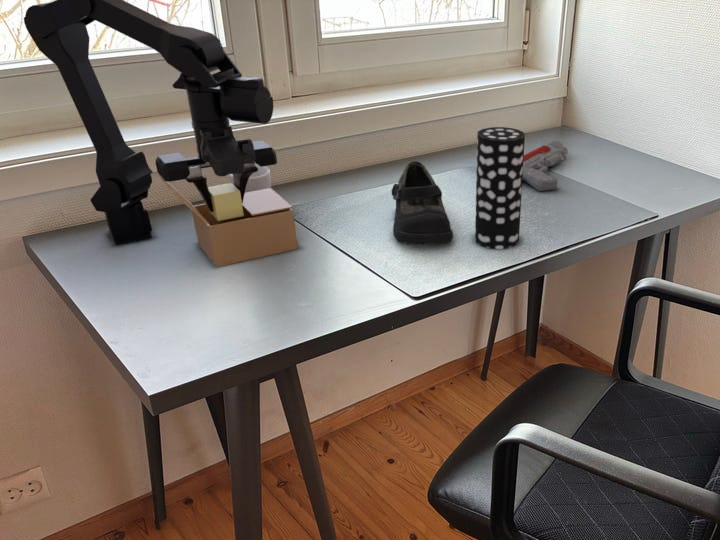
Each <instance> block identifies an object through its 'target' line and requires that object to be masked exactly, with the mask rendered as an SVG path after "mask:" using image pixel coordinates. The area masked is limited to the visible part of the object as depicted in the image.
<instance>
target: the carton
mask: <svg viewBox="0 0 720 540" xmlns="http://www.w3.org/2000/svg"><path fill="white" fill-rule="evenodd" d="M193 206H194V207H195V208H196V209H197V210H198V211H199V213H200V214H201V215H202V216H203V217H204V218H205V219H206V221H207V222H208V224H207V223H205V222H204V221H203V220H202V219H201V218H200V217H199V216H198V215H197V214H196V213H194V212H193V211H192V210H191V214H192V219H193V223H194V229H195V234H196V238H197V244H198V246H199V247H200V248H201V250H203V252H204V253H205V255H206V256H207V257H208V258H209V259H210V261H211V262H212V264H214V266H215V267H216V268H218V267H219V268H220V267H224V266H227V265H232V264H236V263H241V262H245V261H250V260H254V259H259V258H263V257H268V256H273V255H276V254H280V253H285V252H289V251H295V250H298V249H299V244H298V238H297V229H296V221H295V212H294V211H295V210H294V209H293V205H292V204H290V203H289V202H288V201H287V200H285V198H283V197H282V196H281V195H280V194H279V193H278V192H276V191H275V190H274V189H273V188H272V187H271V188H268V189H263V190H257V191H251V192H246V193H245V194H244V199H243V203H242V206H243V212H244V216H241V217H236V218H231V219H226V220H221V221H217V219H216V218H215V217H214V216H213V215H212V214H211V213H210V210H209V208H208V207H207V205H206V203H201V204H196V205H193Z"/></svg>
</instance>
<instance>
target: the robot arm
mask: <svg viewBox="0 0 720 540" xmlns="http://www.w3.org/2000/svg"><path fill="white" fill-rule="evenodd" d="M95 21H96V22H98V23H99V24H102V25H104V26H107V27H108V28H110V29H112V30H114V31H116V32H118V33H120V34H122V35H124V36H127V37H128V38H130V39H132V40H135V41H137V42H138V43H141V44H143V45H145V46H146V47H148V48H150V49H153V50H154V51H155V52H157V53H158V54H160V55H161V57H162V58H163V60H164V61H165V62H166V63H167V64H168V65H169V66H171V67H172V68H173V69H175V70H176V71H178V72H179V73H180V74H179V76H178V78H177V79H176V80H175V81H174V82H173V83H172V88H173V89H175V90H176V89H177V90H185V91H186V97H187V103H188V107H189V112H190V119H191V123H190V124H191V128H192V129H193V133H194V140H195V144H196V146H195V149H196V153H197V156H194V157H187V158H185V157H184V156H183V155H182V154H181V153H180V152H175V153H168V154H163V155H162V154H161V155H158V156H157V157H156V158H155V167H156V171H157V173H158V174H160V176H161V177H162V178H163V179H164V180H165V181H168V182H169V183H170V182H176V181H184V180H185V181H186V182H187V183H189V184H193V185H194V186H195V188H196V189H197V191H198V192H199V195H200V196H201V198H202V199H203V202H204V204H206V205H207V207H208V208H209V210H210V211H211V212H213V204H212V200H211V197H210V194H209V190H208V187H209V186H208V181H207V179H208V178H207V177H206V176H205V175H204V174H203V173H202V172H203V171H202V169H208V168H212V170H213V173H214V175H216V176H217V177H222V178H223V177H226V176H228V175H229V174H233V179H234V186H235V187H236V188H237V189H239V190H240V194H241V200H242V203H243V199H244V194H245V189H246V185H247V182H248V179H249V177H250V176H251V175H252V173H254V172H257V171H258V168H257V167H256V166H255V165H259V166H260V167H263V166H264V167H268V166H275V165H277V164H278V158H277V152H276V150H275V148H273V147H272V146H271V145H269V144H267V143H266V141H264V140H258V141H252V139H251V138H247V139H246V138H245V139H241V140H240V139H239V140H236V137H235V135H234V131H233V129H232V125H231V124H230V121H233V122H241V123H252V124H261V125H262V124H263V125H266V124H268V123H270V121H271V119H272V117H273V113H274V98H273V96H272V95H271V92H270V90H269V88H268V87H267V86H265V84H264V78H263V77H258V76H257V77H243V74H242V72H241V71H240V70H239V68H238V66H236V64H235V63H234V62H233V60H232V59H231V58H230V57H229V54H227V53H226V51H225V50H224V47H223V45H222V43H221V40H220V38H218V37H217V36H216V35H215V34H213V33H211V32H208V31H205V30H202V29H199V28H195V27H190V26H183V25H177V24H174V23H171V22H168V21H166V20H164V19H162V18H160V17H158V16H156V15H153V14H152V13H149V12H148V11H146V10H143V9H142V8H139V7H137V6H135V5H134V4H132V3H129V2H128V1H126V0H54V1H50V2H44V3H39V4H33V5H30V6H29V7H28V8H27V9H26V11H25V15H24V17H23V23H24V26H25V29H26V30H27V33H28V34H29V36H30V37H31V39H32V41H33V42H34V44H35V46H36V48H37V49H38V51H40V52H41V53H42V54H43V55H44V56H45V57H46V58H48V60H50V62H52V63H53V65H55V66H56V68H57V69H58V71H59V73H60V75H61V76H60V77H61V78H62V80H63V82H64V84H65V86H66V88H67V89H66V90H67V91H68V93H69V95H70V98H71V100H72V102H73V103H74V106H75V109H76V110H77V112H78V115H79V117H80V119H81V121H82V124H83V126H84V128H85V130H86V132H87V135H88V136H89V140H90V141H91V143H92V145H93V148H94V149H95V154H96V156H95V157H96V158H95V159H96V161H95V174H96V177H97V180H98V183H99V187H98V189H97V190H96V191H95V193H94V194H93V195H92V197H91V198H90V203H91V204H92V206H93V208H94V210H95V211H96V212H101V213H104V215H105V219H106V220H105V221H106V223H107V227H108V230H107V232H108V235H109V237H110V238H111V240H112V242H113V243H114V245H123V244H127V243H133V242H137V241H143V240H147V239H152V238H153V234H152V232H153V228H152V223H151V219H150V214H149V211H148V209H147V208H146V207H145V206H144V205H143V202H142V201H143V200H145V199H147V198H148V195H149V189H150V188H151V186H152V184H153V176H152V174H153V173H154V172H153V170H152V169H151V168H150V166H149V164H148V161H147V158H146V155H145V153H144V152H143V151H142V150H140V151H137V152H136V151H135V150H133V149H132V148H131V147H130V146H129V145H127V142H125V139H124V137H123V134H122V132H121V130H120V128H119V125H118V123H117V121H116V119H115V116H114V113H113V112H112V109H111V107H110V104H109V102H108V100H107V97H106V96H105V93H104V91H103V89H102V88H103V87H102V86H101V84H100V82H99V79H98V77H97V75H96V72H95V70H94V68H93V66H92V64H91V61H90V57H89V54H90V53H89V51H90V35H89V32H88V28H87V26H88V25H91V24H92V23H94V22H95ZM217 70H218V71H217ZM215 71H217V72H215ZM212 72H215V73H212Z"/></svg>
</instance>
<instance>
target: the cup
mask: <svg viewBox="0 0 720 540" xmlns="http://www.w3.org/2000/svg"><path fill="white" fill-rule="evenodd" d="M255 166H256V167H257V168H258V171H257V172H254V173H252V175H251V176H250V177H249V179H248V182H247V185H246V189H245V193H246V192H251V191H257V190H263V189H268V188H271V189H272V181H271V180H272V179H271V178H272V177H271V170H270V168H269V167H268V166H263V167H260V166H259V165H258V164H255ZM227 176H228V179H229V183H232V184H233V185H234V179H233V174H229V175H227Z"/></svg>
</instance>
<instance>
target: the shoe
mask: <svg viewBox="0 0 720 540" xmlns="http://www.w3.org/2000/svg"><path fill="white" fill-rule="evenodd" d="M442 194H443V192H442V189H441V188H440V187H439V186H438V184H436V181H435V180H434V178H433V176H432V175H431V174H430V172H429V171H428V169H427V168H426V166H425V165H424V164H422V162H420V161H411V162H409V163H408V164H407V165H406V166H405V168H404V170H403V172H402V174H401V175H400V177H399V180H398V182H397V183H394V184H393V186H392V188H391V196H392V200H394V201H395V212H394V213H395V214H394V221H393V225H392V235H393V237H394V238H395V240H396V241H397V242H400V243H402V244H407V245H434V244H435V245H441V244H448V243H451V242H452V241H453V239H454V233H453V230H452V228H451V223H450V219H449V217H448V215H447V212H446V209H445V206H444V202H443V199H442V198H443V197H442V196H443V195H442Z"/></svg>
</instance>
